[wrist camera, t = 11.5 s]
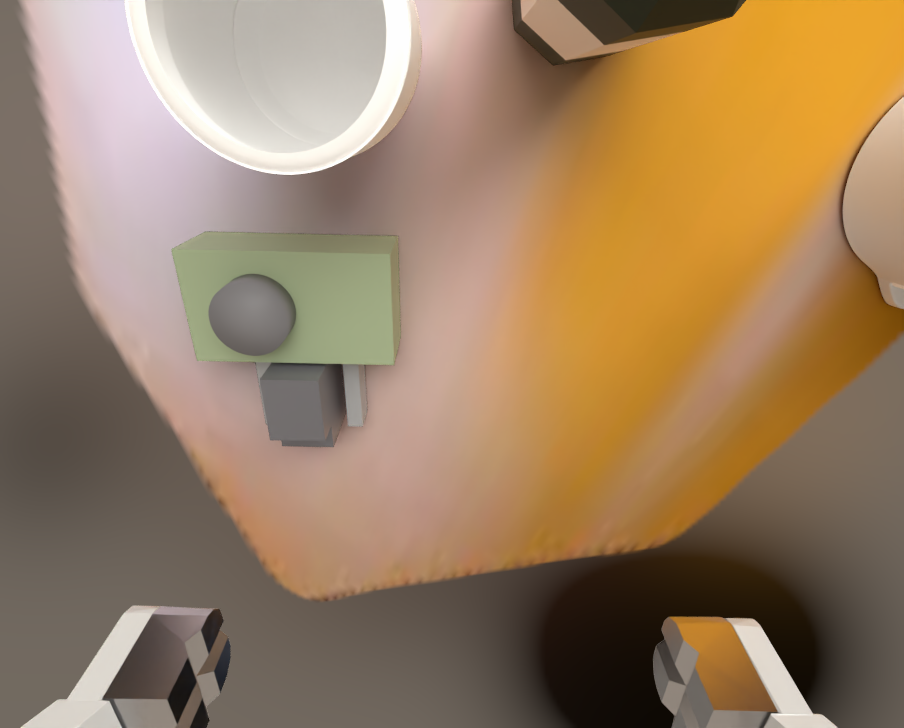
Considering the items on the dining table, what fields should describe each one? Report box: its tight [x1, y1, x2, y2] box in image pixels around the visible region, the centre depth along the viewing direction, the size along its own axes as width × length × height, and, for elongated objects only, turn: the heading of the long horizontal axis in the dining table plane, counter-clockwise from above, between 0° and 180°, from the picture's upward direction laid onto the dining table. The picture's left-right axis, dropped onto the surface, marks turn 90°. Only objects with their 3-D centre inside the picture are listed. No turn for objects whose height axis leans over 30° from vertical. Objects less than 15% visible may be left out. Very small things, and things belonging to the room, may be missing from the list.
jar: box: [125, 0, 422, 175], centre depth 25 cm, size 11×10×15 cm
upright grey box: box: [260, 363, 346, 447], centre depth 39 cm, size 4×7×7 cm, turn 179°
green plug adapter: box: [171, 232, 401, 426], centre depth 37 cm, size 14×15×7 cm
